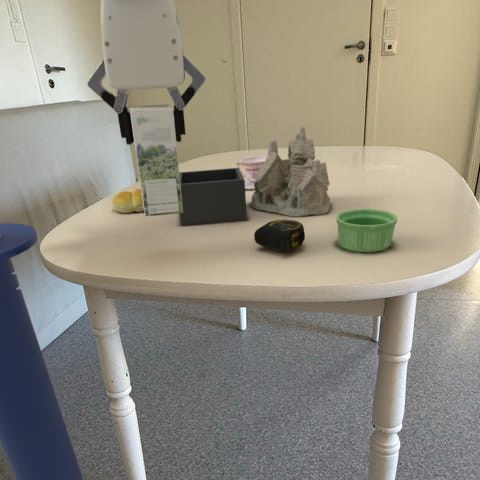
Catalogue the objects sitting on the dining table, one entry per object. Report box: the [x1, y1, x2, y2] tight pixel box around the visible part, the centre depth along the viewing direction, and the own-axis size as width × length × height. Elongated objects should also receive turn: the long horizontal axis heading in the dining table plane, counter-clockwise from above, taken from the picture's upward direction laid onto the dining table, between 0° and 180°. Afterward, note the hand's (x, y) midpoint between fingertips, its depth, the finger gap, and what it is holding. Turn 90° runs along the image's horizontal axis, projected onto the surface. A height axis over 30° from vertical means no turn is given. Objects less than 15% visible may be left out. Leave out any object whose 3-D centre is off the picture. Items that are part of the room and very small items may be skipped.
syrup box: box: [129, 104, 183, 217], centre depth 64 cm, size 6×6×14 cm
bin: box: [179, 167, 248, 226], centre depth 89 cm, size 13×13×8 cm
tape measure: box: [253, 219, 306, 253], centre depth 70 cm, size 7×7×4 cm
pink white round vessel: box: [236, 155, 268, 190], centre depth 111 cm, size 12×12×6 cm
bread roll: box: [111, 188, 144, 214], centre depth 98 cm, size 8×9×4 cm
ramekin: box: [335, 208, 398, 253], centre depth 69 cm, size 9×9×4 cm
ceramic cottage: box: [250, 126, 331, 217], centre depth 89 cm, size 16×16×15 cm
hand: (154, 140), depth 63 cm, fingers closed on syrup box, 6 cm apart
